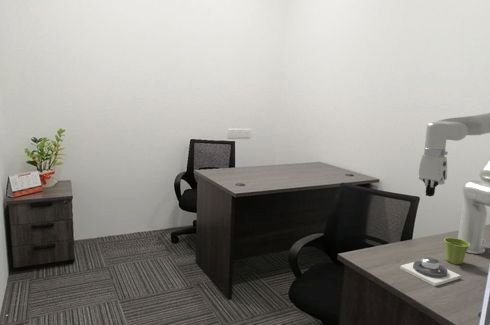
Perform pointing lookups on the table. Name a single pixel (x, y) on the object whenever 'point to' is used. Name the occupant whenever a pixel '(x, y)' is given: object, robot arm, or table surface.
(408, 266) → the mounted pipe fitting
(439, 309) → the table surface
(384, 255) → the table surface
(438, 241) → the table surface
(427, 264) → the cap
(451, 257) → the plant pot
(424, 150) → the robot arm
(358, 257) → the table surface
